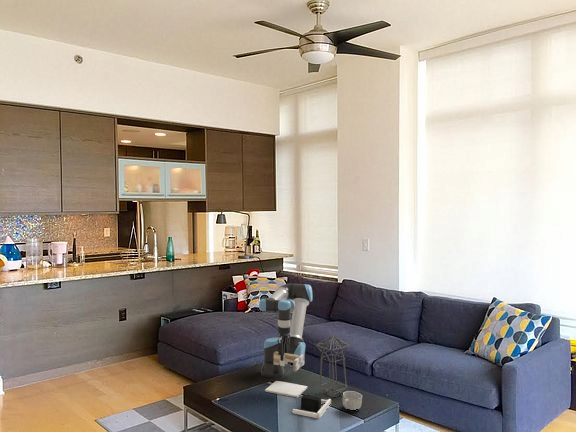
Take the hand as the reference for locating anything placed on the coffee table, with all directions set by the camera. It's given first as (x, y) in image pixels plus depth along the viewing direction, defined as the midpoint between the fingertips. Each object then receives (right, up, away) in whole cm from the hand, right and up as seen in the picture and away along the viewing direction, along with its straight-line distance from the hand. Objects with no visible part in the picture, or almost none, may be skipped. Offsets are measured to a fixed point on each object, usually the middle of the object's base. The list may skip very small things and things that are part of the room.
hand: (283, 364), depth 293 cm
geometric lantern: (+29, -16, -6) cm, 33 cm away
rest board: (+2, -15, 0) cm, 15 cm away
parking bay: (+15, -16, -26) cm, 34 cm away
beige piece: (+2, 0, -1) cm, 2 cm away
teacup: (+37, -17, -27) cm, 49 cm away
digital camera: (+16, -17, -27) cm, 35 cm away
